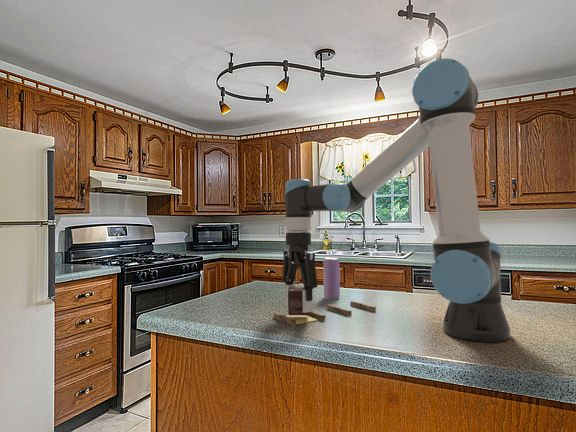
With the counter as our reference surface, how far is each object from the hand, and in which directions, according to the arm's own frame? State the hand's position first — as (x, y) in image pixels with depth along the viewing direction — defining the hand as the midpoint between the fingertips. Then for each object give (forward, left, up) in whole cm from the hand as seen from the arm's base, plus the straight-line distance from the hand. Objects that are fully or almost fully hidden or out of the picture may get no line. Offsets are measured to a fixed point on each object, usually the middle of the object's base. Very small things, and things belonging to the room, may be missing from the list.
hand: (299, 308), depth 109 cm
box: (0, 0, -2) cm, 2 cm away
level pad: (0, 0, -3) cm, 3 cm away
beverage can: (+19, -27, -3) cm, 33 cm away
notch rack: (0, -10, -3) cm, 10 cm away
